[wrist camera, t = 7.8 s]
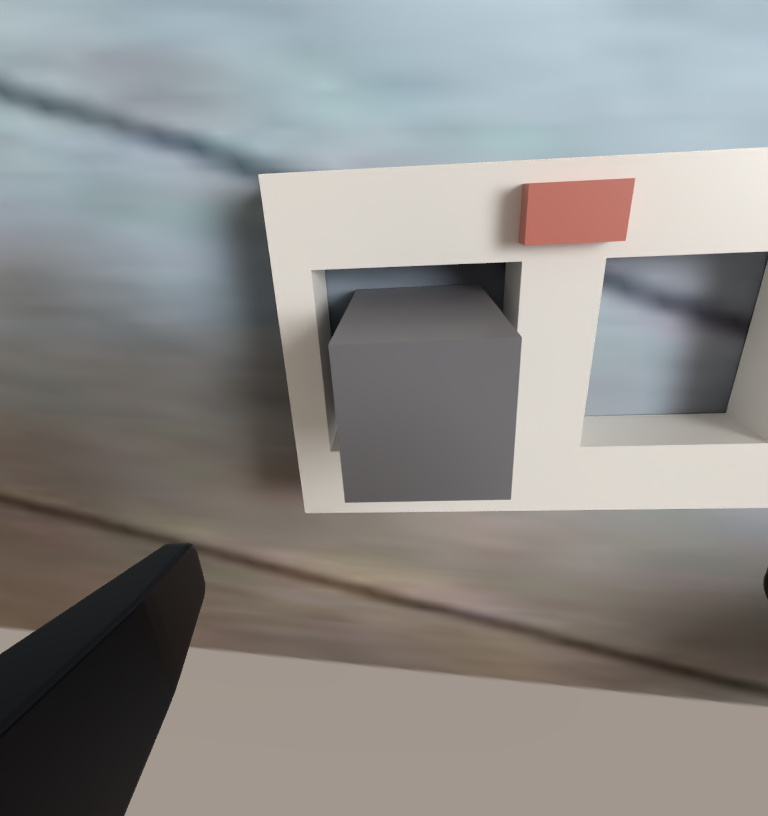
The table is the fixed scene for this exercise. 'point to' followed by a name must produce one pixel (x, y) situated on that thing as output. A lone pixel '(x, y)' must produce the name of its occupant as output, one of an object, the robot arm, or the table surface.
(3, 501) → the table surface
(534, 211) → the faceplate
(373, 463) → the plug
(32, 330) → the table surface
